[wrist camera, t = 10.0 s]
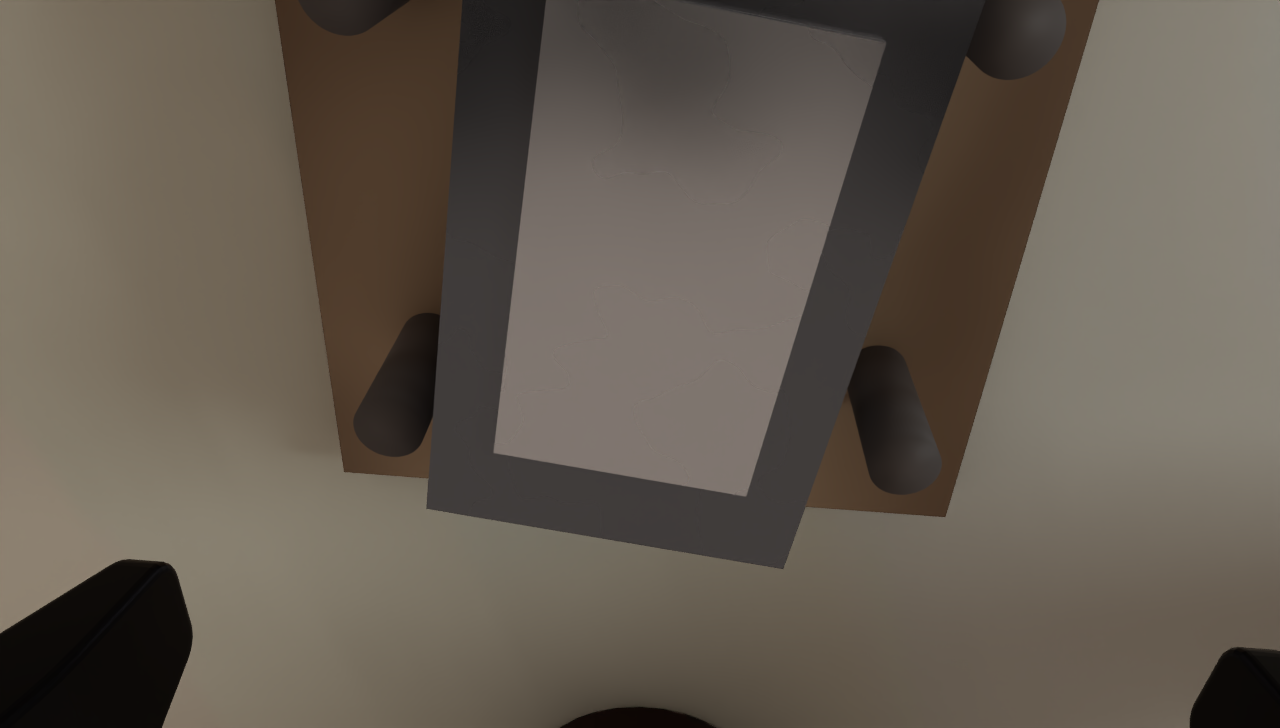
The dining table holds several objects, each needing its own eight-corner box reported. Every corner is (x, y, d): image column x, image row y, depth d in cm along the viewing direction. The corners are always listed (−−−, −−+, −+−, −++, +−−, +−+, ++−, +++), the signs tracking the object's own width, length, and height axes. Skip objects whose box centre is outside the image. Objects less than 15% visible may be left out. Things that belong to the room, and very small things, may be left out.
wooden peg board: (1149, -271, 13) (1305, -294, 10) (935, 487, 21) (982, 623, 17) (256, -325, 14) (107, -365, 10) (358, 444, 21) (292, 570, 17)
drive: (935, -112, 14) (1018, -80, 10) (767, 429, 19) (784, 575, 15) (531, -195, 13) (472, -192, 10) (476, 377, 19) (424, 514, 15)
